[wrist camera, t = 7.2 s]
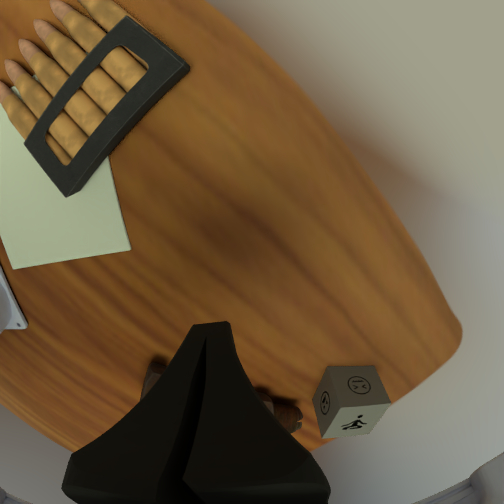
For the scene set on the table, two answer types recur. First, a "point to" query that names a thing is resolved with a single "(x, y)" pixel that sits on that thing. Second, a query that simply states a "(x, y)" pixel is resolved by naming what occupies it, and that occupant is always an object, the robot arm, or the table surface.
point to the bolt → (282, 412)
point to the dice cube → (349, 401)
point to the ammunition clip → (86, 88)
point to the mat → (53, 208)
